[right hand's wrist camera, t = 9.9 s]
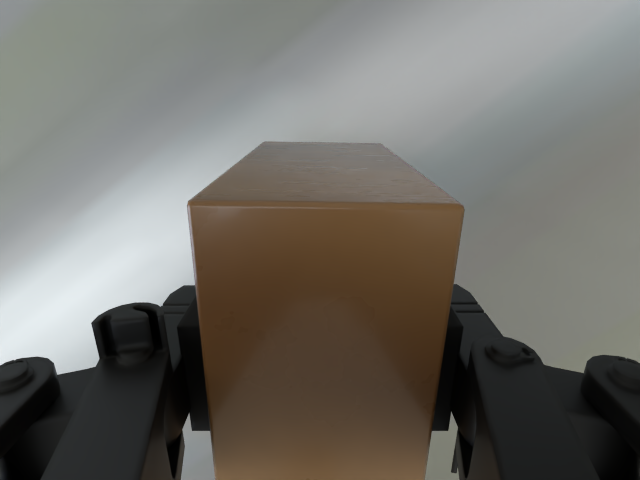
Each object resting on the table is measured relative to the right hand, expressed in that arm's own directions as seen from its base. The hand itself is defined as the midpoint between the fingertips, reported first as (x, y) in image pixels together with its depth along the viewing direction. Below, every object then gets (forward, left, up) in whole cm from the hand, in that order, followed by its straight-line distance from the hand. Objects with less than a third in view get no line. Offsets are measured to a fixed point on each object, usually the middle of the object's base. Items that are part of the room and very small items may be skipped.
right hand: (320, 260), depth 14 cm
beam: (+19, +14, -1) cm, 23 cm away
